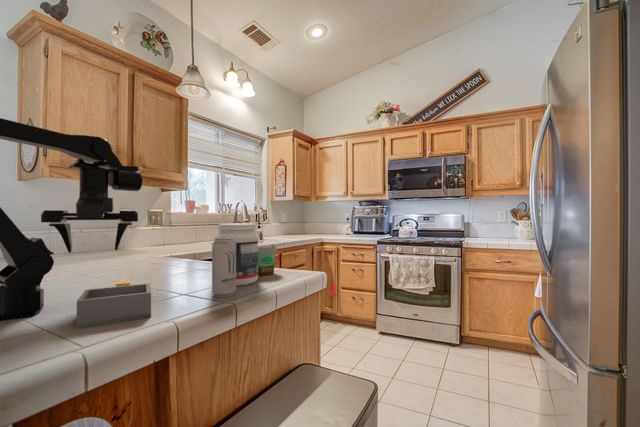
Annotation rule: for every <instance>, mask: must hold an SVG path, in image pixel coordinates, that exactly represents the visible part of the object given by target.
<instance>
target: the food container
mask: <svg viewBox="0 0 640 427" xmlns="http://www.w3.org/2000/svg"><path fill="white" fill-rule="evenodd" d="M277 252H278V248H277V245H276V244H271V246H267V247H266V246H265V247H264V246H263V247H262V246H261V247H258V277H268V276H269V275H270V276H273V275H274V272H275V264H276V263H275V262H276V253H277Z"/></svg>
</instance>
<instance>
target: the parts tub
mask: <svg viewBox="0 0 640 427" xmlns="http://www.w3.org/2000/svg"><path fill="white" fill-rule="evenodd" d="M151 317H152V288H151V283H149V282H148V283H140V284H139V283H138V284H130V285H128V286H118V287H116V286H110V287H101V288H100V287H99V288H89V289H85V290H84V291H83V292H82V293H81V295H80V296H79V298H78V299H77V300H76V329H81V328H87V327H93V326H95V327H96V326H102V325H107V324H114V323H119V322H126V321H134V320H141V319H147V318H151Z"/></svg>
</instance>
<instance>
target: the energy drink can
mask: <svg viewBox="0 0 640 427" xmlns="http://www.w3.org/2000/svg"><path fill="white" fill-rule="evenodd" d="M211 246H212V247H211V248H212V249H211V250H212V251H211V265H212V266H211V271H212V272H211V283H212V284H211V293H212V294H213V295H214V297H215V298H229V297H233V296H234V295H235V292H236V291H237V286H236V243H235V241H234V238H233V237H220V238H216V237H215V238H214V241H213V243H212V244H211Z"/></svg>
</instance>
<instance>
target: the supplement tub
mask: <svg viewBox="0 0 640 427" xmlns="http://www.w3.org/2000/svg"><path fill="white" fill-rule="evenodd" d="M217 230H219V233H218V234H217V235H216V237H215V238H220V237H233V238H234V241H235V243H236V287H242V286H248V285H251V284H254V283H255V282H257V280H258V279H259V276H258V248H259V236H258V234H257V233H256V230H257V224H256V223H249V222H248V223H247V222H246V223H244V222H243V223H242V222H240V223H232V222H231V223H218V229H217Z"/></svg>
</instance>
